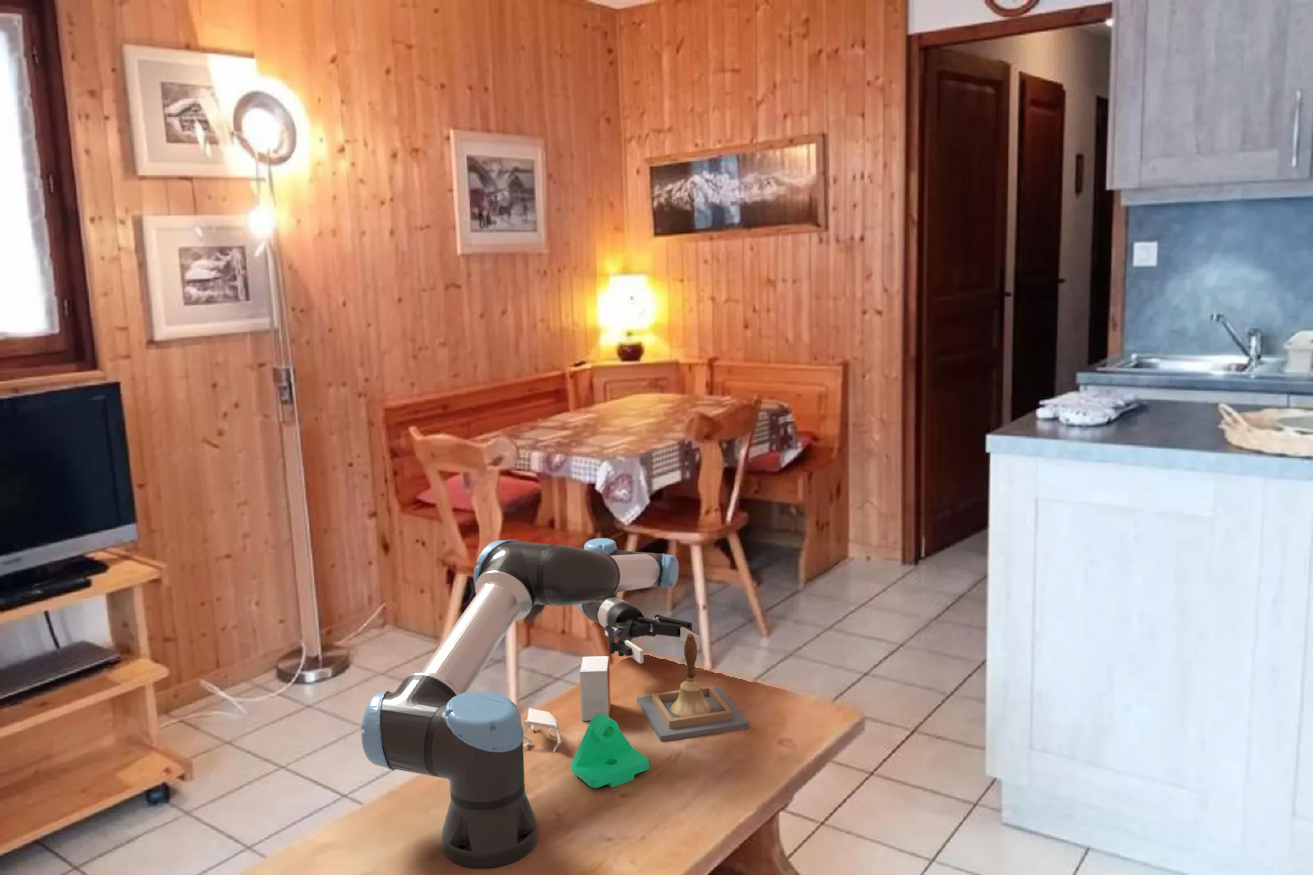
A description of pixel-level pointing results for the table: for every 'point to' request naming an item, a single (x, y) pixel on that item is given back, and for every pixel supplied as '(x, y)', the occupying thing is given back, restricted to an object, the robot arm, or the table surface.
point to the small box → (595, 687)
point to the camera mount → (606, 755)
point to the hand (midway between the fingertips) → (670, 649)
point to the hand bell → (690, 687)
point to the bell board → (676, 727)
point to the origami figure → (541, 723)
